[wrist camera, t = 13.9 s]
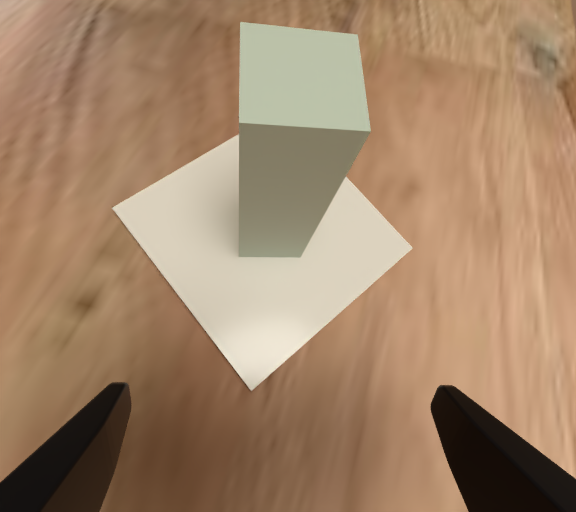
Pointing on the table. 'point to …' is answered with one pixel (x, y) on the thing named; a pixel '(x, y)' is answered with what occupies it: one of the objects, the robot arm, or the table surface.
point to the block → (295, 132)
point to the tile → (256, 261)
